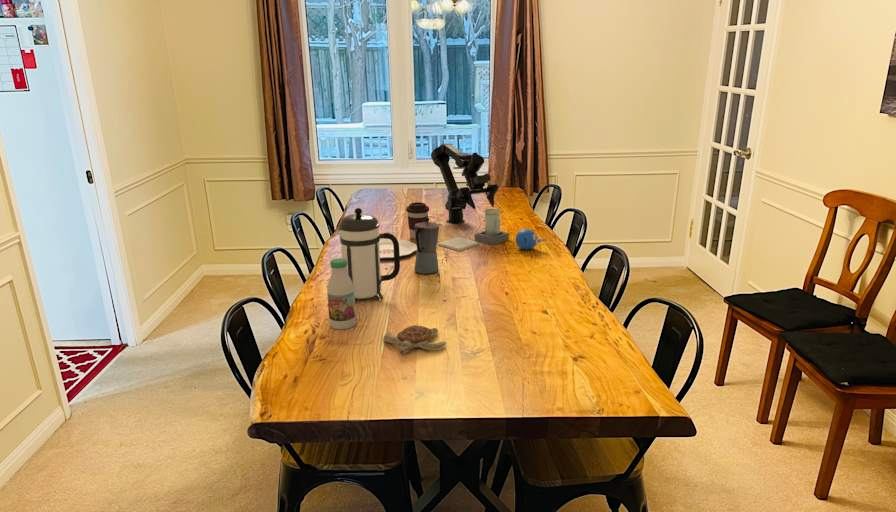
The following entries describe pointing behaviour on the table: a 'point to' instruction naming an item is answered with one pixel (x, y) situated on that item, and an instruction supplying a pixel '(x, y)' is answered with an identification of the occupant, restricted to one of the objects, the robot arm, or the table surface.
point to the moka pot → (426, 247)
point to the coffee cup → (416, 215)
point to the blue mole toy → (527, 239)
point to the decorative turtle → (414, 338)
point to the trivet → (458, 243)
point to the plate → (404, 248)
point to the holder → (489, 239)
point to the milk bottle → (341, 296)
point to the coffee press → (365, 253)
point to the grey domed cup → (492, 222)
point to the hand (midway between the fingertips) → (484, 207)
